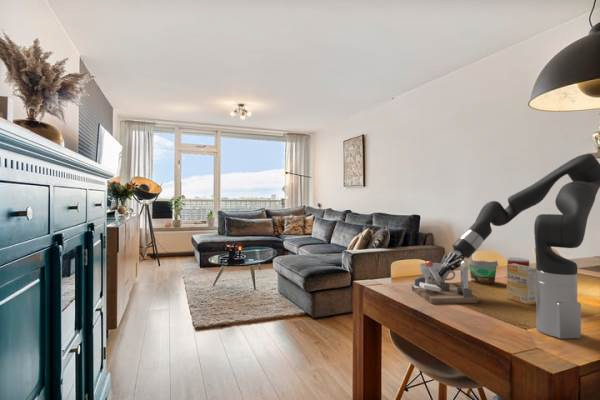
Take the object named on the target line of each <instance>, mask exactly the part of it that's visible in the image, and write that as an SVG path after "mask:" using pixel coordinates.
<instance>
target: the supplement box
mask: <svg viewBox="0 0 600 400" xmlns="http://www.w3.org/2000/svg"><path fill="white" fill-rule="evenodd" d="M506 264H507V265H506V299H507V300H511V301H513V302H514V301H515V302H518V303H522V304H524V305H527V306H529V305H536V267H533V266H530V265H529V266H524V265H519V264H508V263H506Z"/></svg>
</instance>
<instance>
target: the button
mask: <svg viewBox="0 0 600 400" xmlns="http://www.w3.org/2000/svg"><path fill="white" fill-rule="evenodd" d="M420 282H422V283H426V280H425V277H423V276H414V284H415V285H417V286H419V284H420Z"/></svg>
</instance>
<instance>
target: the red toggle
mask: <svg viewBox="0 0 600 400" xmlns="http://www.w3.org/2000/svg"><path fill="white" fill-rule="evenodd" d="M425 263H426V266H427V267H428V268H429V270H430V271H431V273H432V275H433V276H434V278H435V280H436V281H437V283H438V285H439V286H440V287H441V283H444V282H443V281H442V279H441V277H440V276H439V274H438V272H437V271H436V269H435V268H434V266H433V263H434V262H432V261H431V260H428V261H426V262H425Z"/></svg>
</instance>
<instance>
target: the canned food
mask: <svg viewBox="0 0 600 400" xmlns="http://www.w3.org/2000/svg"><path fill="white" fill-rule="evenodd" d="M507 264H519V265H524V266H529V267H530V259H528V258H523V257H508V258H507Z"/></svg>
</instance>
